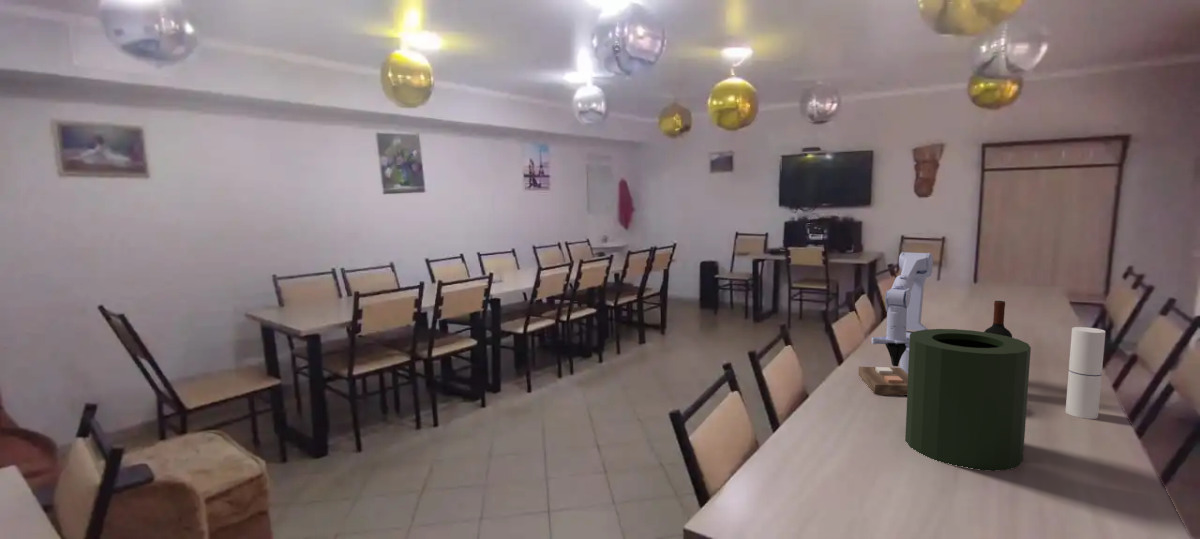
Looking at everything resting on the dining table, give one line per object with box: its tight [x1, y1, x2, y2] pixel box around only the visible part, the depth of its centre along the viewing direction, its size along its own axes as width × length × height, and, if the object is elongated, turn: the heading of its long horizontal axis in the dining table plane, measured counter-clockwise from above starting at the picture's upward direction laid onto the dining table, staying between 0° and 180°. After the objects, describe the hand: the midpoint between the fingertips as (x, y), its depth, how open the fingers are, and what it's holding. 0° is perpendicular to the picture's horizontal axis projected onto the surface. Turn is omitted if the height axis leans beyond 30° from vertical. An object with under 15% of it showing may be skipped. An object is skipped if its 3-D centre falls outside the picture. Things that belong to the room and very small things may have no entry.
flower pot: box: [904, 328, 1032, 472], centre depth 139 cm, size 25×25×28 cm
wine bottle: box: [983, 300, 1013, 338], centre depth 178 cm, size 8×8×30 cm
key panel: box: [857, 366, 908, 396], centre depth 188 cm, size 14×20×3 cm
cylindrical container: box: [1065, 326, 1106, 420], centre depth 159 cm, size 7×7×25 cm
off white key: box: [874, 366, 893, 374], centre depth 193 cm, size 4×4×3 cm
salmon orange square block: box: [884, 376, 903, 383], centre depth 183 cm, size 4×4×3 cm
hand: (894, 365), depth 183 cm, fingers closed
